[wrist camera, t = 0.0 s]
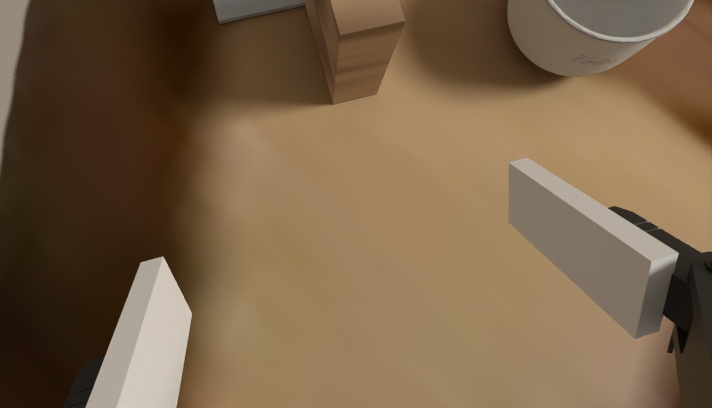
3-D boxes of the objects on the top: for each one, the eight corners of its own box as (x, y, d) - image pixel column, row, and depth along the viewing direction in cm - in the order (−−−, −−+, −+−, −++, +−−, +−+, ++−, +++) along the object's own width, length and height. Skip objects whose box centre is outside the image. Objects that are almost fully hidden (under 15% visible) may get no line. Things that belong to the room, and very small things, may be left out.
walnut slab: (376, 93, 33) (405, 20, 22) (333, 104, 32) (340, 35, 22) (345, -14, 33) (358, -138, 22) (302, -5, 33) (294, -127, 22)
